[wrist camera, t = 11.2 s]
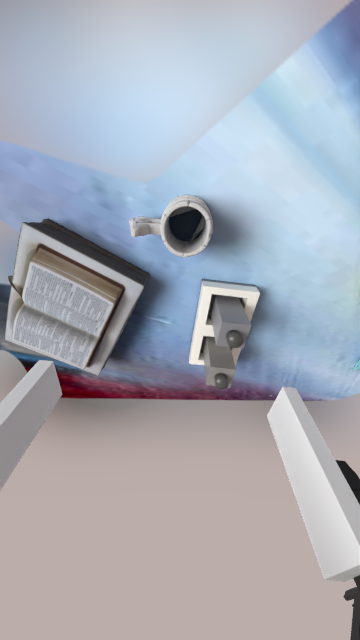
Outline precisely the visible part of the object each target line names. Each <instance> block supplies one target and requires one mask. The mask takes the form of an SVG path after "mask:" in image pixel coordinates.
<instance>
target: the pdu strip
mask: <svg viewBox="0 0 360 640" xmlns="http://www.w3.org/2000/svg"><path fill="white" fill-rule="evenodd" d="M215 294H216V295H224V296H233V297H238V298H239V300H240V302H241V304H242V306H243V308H244V310H245V312H246V314H247V317H248V319H249V321H250V322H251V319H252V316H253V313H254V310H255V307H256V304H257V301H258V298H259V295H260V292H259V290H258V289H257V287H256V286H255V285H249V284H241V283H233V282H224V281H216V280H208V279H202V281H201V287H200V293H199V299H198V304H197V310H196V316H195V322H194V328H193V333H192V339H191V345H190V351H189V364H198V365H204V355H203V347H204V342H205V338H206V336H211V337H215V336H214V331H213V325H212V319H211V310H212V306H213V301H214V296H215ZM230 348H231V347H230ZM240 351H241V348H231V352H232V356H233V359H234V363H235V366H236V363H237V360H238V357H239V354H240Z"/></svg>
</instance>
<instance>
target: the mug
mask: <svg viewBox="0 0 360 640" xmlns="http://www.w3.org/2000/svg"><path fill="white" fill-rule="evenodd" d="M194 209H197V210H198V211H200V212H201V213H202V214H203V216H202V218H201V220H200V222H199V225H198V227H197V229H196V231H195V233H194V236H193V238H192V240H193V239H194V238H195V237H196V236H197V235H198V233H199V232H200V231H201V230H202V229H203V228H204V230H203V232H202V234H201V235H200V236H199V237H198V238H197V239H195V240H193V241H192V240H191V241H181V240H179V239H177V238H176V237H175V236H174V235H173V234H172V232H171V230H170V227H169V217H171V216H175V215H178V214H181V213H185V212H188V211H191V210H194ZM129 223H130V228H131V235H132V237H137V236H144V235H147V234H157V235H161V237H162V240H163V242H164V244H165V245H166V247H167V248H168V249H169V250H170V251H171V252H172V253H173V254H175V255H177V256H180V257H183V256H184V257H190V256H194V255H196V254H199V253H200V252H202V251H203V250H204V249H205V248H206V246H207V245H208V243H209V241H210V238H211V235H212V233H213V220H212V217H211V213H210V210H209V208H208V206H207V205H206V204H205V202H204V201H203V200H202V199H200V198H198V197H196V196H193V195H182V196H177V197H176V198H175V199H174V200H172V201H171V202H170V203H169V204H168V206H167V207H166V209H165V211H164V213H163V215H162V218H161V219H155V218H148V217H136V218H132V219H131V220H129Z"/></svg>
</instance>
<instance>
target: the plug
mask: <svg viewBox="0 0 360 640" xmlns="http://www.w3.org/2000/svg"><path fill="white" fill-rule="evenodd" d="M211 319H212V325H213V331H214V336H215V342H216V346H225V347H231V348H242V349H244V346H245V343H246V340H247V337H248V335H249V332H250V329H251V326H252V325H251V323H250V321H249V319H248V317H247V314H246V312H245V310H244V308H243V306H242V304H241V302H240V300H239V298H238V297H233V296H224V295H216V294H215V296H214V301H213V306H212V310H211Z"/></svg>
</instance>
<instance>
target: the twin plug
mask: <svg viewBox="0 0 360 640" xmlns="http://www.w3.org/2000/svg"><path fill="white" fill-rule="evenodd" d="M203 355H204V367H205V379H206V385H213V386H216V387H217V388H218V389H225V388H227V387H230V386H231V384H232V381H233V378H234V375H235V372H236V367H235V363H234V359H233V356H232V352H231V348H230V347H225V346H216V342H215V337H211V336H206V338H205V342H204V347H203Z"/></svg>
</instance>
